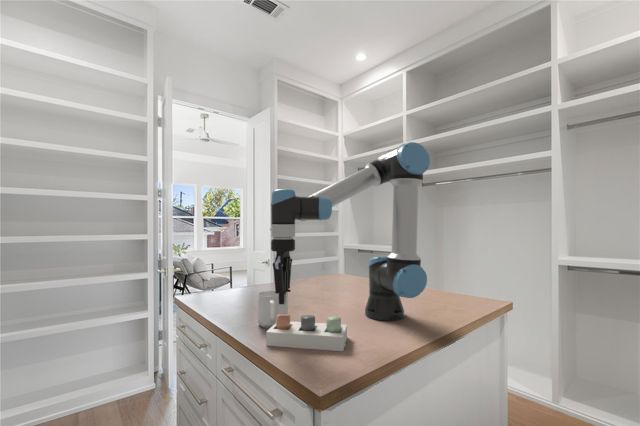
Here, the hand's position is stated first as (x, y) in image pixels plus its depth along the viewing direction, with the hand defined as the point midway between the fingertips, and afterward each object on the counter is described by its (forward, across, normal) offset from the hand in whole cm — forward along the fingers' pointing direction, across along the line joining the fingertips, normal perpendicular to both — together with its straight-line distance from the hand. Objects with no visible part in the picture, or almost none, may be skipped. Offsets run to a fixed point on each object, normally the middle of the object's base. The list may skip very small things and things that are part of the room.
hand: (282, 313), depth 97 cm
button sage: (+5, 0, +16) cm, 17 cm away
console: (+8, 0, +8) cm, 11 cm away
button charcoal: (+5, 0, +8) cm, 9 cm away
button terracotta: (+5, 0, 0) cm, 5 cm away
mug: (+8, -12, -8) cm, 17 cm away
